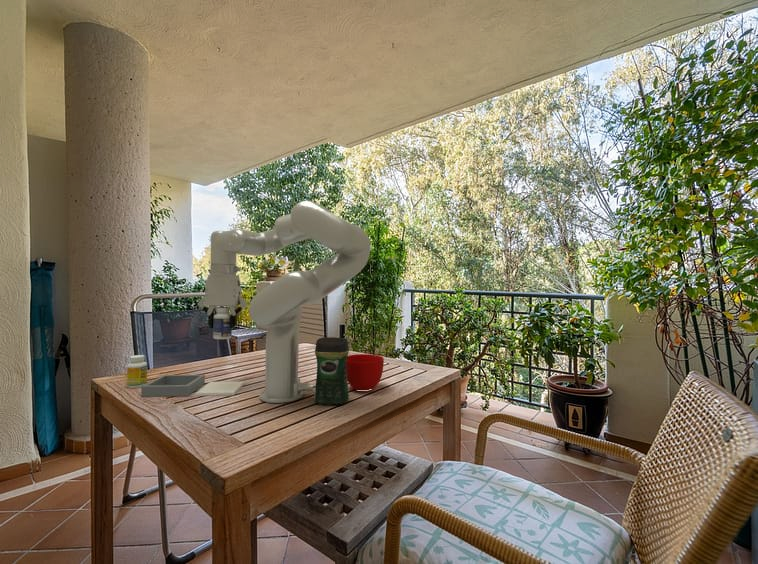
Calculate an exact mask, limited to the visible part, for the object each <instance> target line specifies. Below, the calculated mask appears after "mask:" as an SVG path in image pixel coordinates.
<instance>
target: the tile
mask: <svg viewBox="0 0 758 564" xmlns="http://www.w3.org/2000/svg"><path fill="white" fill-rule="evenodd" d="M245 384H246V382H245V381H209V382H208V383H207V384H205V385H203V387H201V388H199V390H198V391H195V392H194V393H195V394H194V395H195V396H198V397H200V396H202V397H203V396H205V397H206V396H209V397H210V396H211V397H212V396H235V394H236V393H237V392H238V391H239V390H240V389H241V388H242V387H243V386H245Z"/></svg>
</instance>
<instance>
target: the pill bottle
mask: <svg viewBox="0 0 758 564" xmlns="http://www.w3.org/2000/svg"><path fill="white" fill-rule="evenodd" d="M215 311H216V313H214V318H213V328H212V330H213V331H212V338H213V339H215V340H228V339H231V338H232V337H233V335H232V334H233V328H230V316H231V314H232V313H231V310H230V307H229V306H216V309H215Z"/></svg>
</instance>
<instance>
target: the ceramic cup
mask: <svg viewBox="0 0 758 564" xmlns="http://www.w3.org/2000/svg"><path fill="white" fill-rule="evenodd" d="M384 361H385V358H384V357H382V356H381V355H377V354H369V353H367V354H366V353H364V354H363V353H362V354H361V353H358V354H350V355H349V354H348V356H347V360H346V371H347V382H348V384H349V385H350V387H352V389H353V388H354V389H356V390H369V389H373V388H374V389H375V388H376V387H377V385H378V384H379V383H380V381H381V379H382V376H383V372H384V363H385V362H384ZM354 389H353V390H354ZM374 389H373V390H374Z"/></svg>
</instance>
